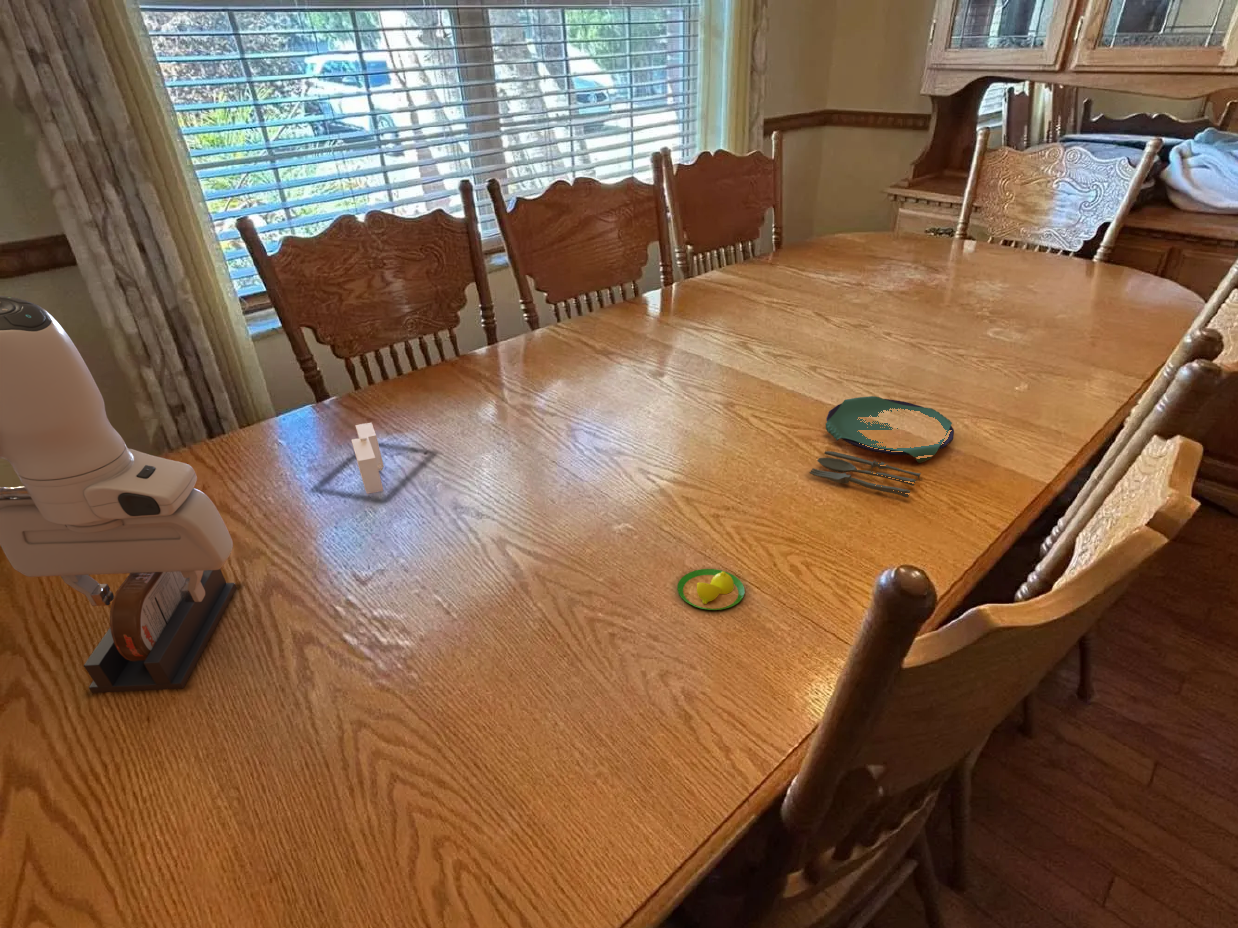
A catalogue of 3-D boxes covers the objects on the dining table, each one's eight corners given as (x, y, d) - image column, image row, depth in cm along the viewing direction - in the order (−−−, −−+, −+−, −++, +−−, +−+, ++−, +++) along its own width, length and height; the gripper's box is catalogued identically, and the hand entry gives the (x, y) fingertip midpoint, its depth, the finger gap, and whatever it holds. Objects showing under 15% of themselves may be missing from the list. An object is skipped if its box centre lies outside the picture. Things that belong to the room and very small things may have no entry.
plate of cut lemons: (734, 620, 85) (737, 601, 83) (668, 604, 87) (669, 585, 85) (751, 581, 90) (753, 562, 88) (688, 567, 92) (689, 548, 91)
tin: (187, 589, 87) (156, 528, 81) (214, 588, 87) (186, 527, 81) (131, 678, 76) (91, 615, 70) (163, 677, 76) (126, 614, 70)
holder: (93, 694, 75) (73, 666, 73) (159, 592, 88) (145, 564, 85) (184, 690, 76) (168, 661, 73) (237, 589, 89) (225, 561, 86)
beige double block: (385, 503, 103) (376, 466, 99) (314, 492, 105) (302, 455, 102) (434, 454, 114) (428, 419, 110) (369, 445, 116) (360, 410, 112)
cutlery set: (962, 425, 123) (966, 411, 121) (919, 508, 103) (924, 493, 102) (845, 400, 130) (847, 387, 128) (784, 473, 110) (787, 459, 109)
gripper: (-51, 506, 66) (32, 623, 76) (185, 498, 68) (238, 615, 77) (-11, 471, 71) (63, 586, 80) (209, 465, 72) (256, 579, 81)
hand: (150, 600), depth 79 cm, fingers open, 8 cm apart
